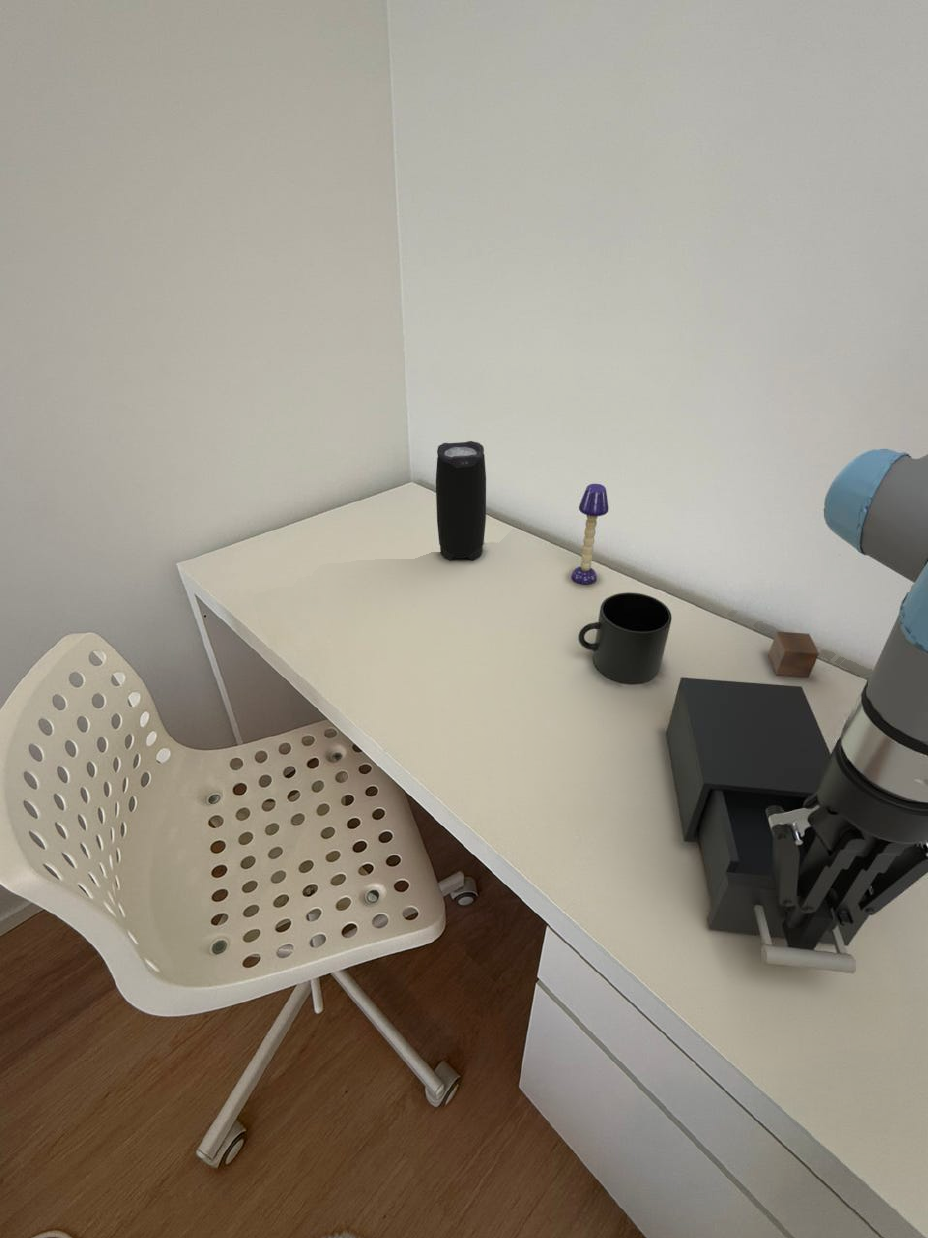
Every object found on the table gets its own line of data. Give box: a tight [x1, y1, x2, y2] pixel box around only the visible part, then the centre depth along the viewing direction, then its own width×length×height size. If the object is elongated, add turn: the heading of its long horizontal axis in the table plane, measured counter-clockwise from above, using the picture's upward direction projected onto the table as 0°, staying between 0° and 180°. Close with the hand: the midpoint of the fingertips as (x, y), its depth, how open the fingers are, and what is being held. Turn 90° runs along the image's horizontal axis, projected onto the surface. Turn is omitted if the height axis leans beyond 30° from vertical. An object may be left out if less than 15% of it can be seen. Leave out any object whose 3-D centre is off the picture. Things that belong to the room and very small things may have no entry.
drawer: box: [697, 789, 874, 974], centre depth 61 cm, size 19×12×8 cm, turn 173°
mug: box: [577, 591, 673, 685], centre depth 90 cm, size 9×12×9 cm
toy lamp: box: [571, 483, 609, 585], centre depth 105 cm, size 5×5×17 cm
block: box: [767, 631, 820, 679], centre depth 90 cm, size 4×4×4 cm
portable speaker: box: [435, 440, 487, 561], centre depth 112 cm, size 9×9×20 cm
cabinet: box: [665, 676, 832, 843], centre depth 72 cm, size 16×14×10 cm
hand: (794, 941), depth 57 cm, fingers closed
